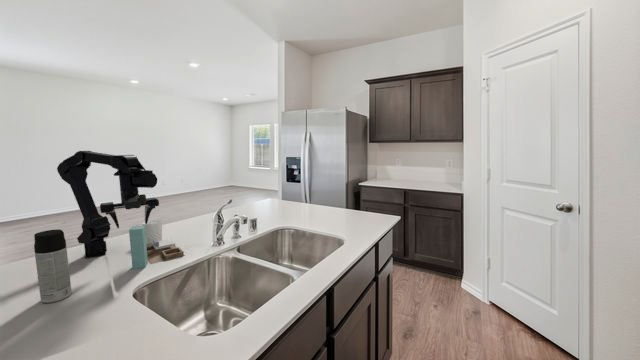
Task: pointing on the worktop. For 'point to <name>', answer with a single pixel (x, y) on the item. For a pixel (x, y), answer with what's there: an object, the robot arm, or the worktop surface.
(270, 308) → the worktop surface
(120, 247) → the worktop surface
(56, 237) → the spray can
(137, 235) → the block
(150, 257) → the board
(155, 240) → the lid
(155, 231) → the white cup
